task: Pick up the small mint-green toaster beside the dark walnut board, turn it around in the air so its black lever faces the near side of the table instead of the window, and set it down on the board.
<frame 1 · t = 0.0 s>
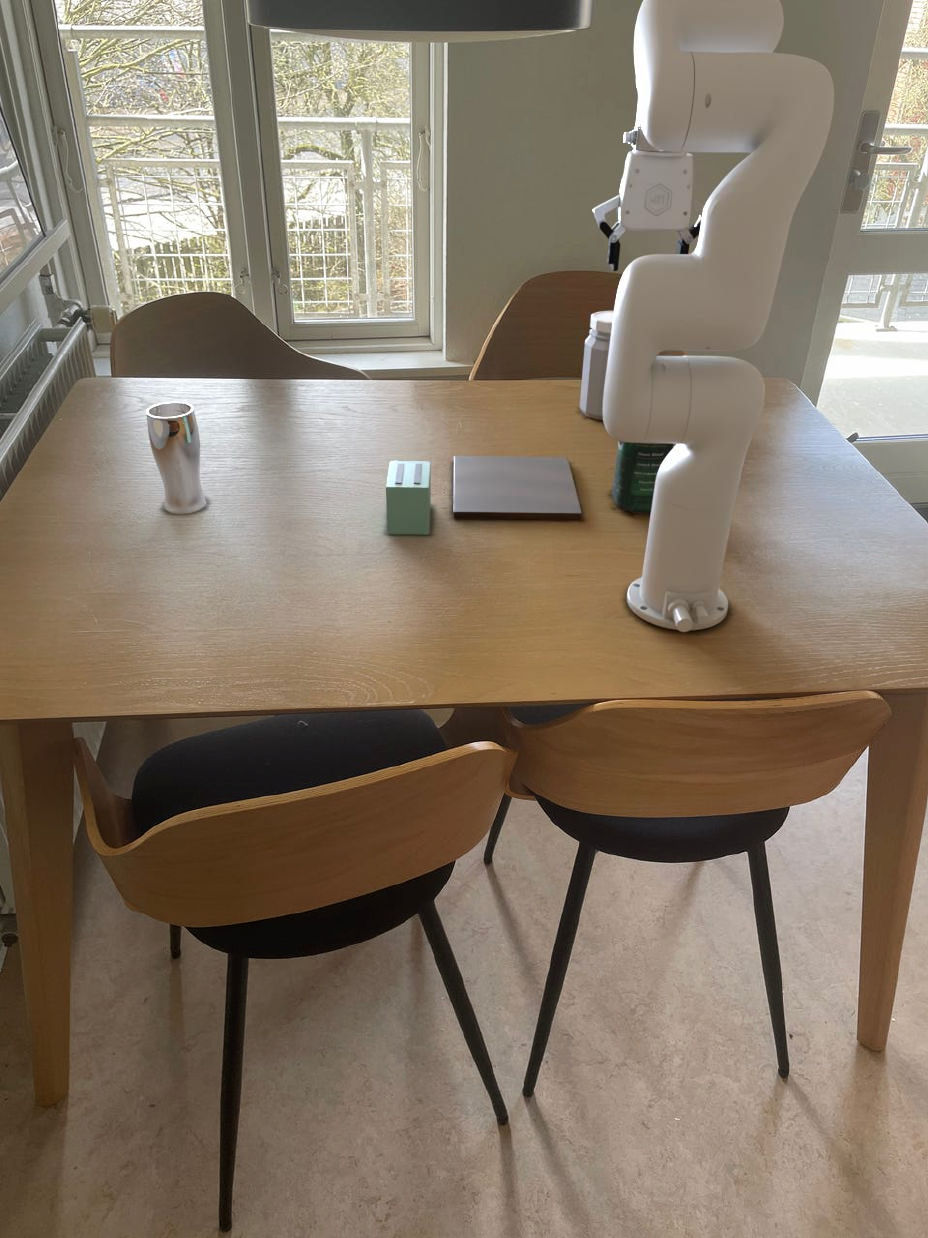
hand: (645, 269, 139), 31 cm above the table, tool pointing down, fingers open, 9 cm apart
board: (513, 489, 146), on the table
toaster: (410, 509, 140), on the table
beer glass: (185, 506, 140), on the table
jar: (604, 413, 176), on the table
coffee jar: (637, 503, 143), on the table
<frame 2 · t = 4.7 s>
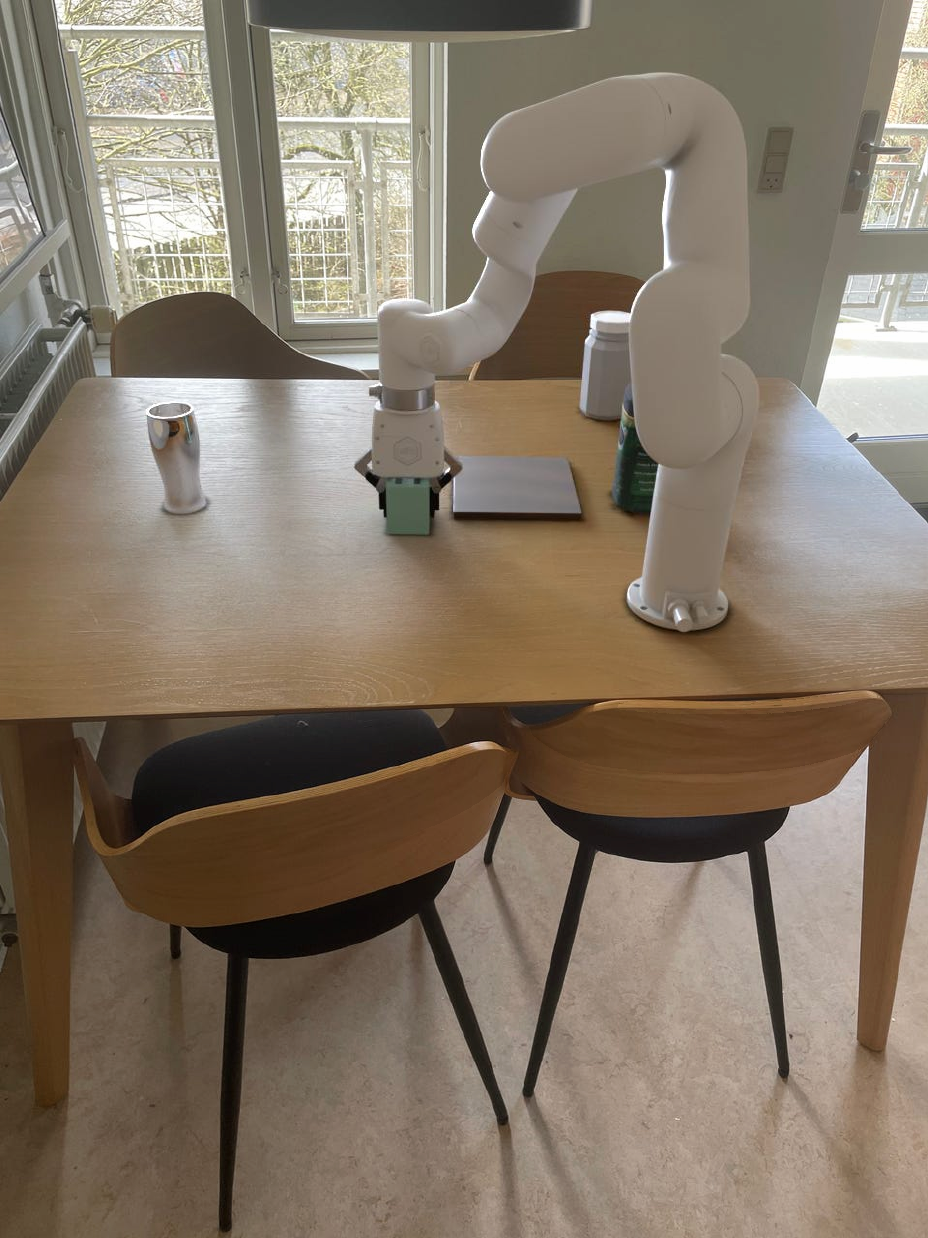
hand: (409, 512, 136), 1 cm above the table, tool pointing down, fingers closed on toaster, 6 cm apart
toaster: (410, 509, 140), on the table, touching gripper
everything else where it was.
when the fingers open (2 cm above the table, at t = 14.1 s): toaster stays where it is, resting on board.
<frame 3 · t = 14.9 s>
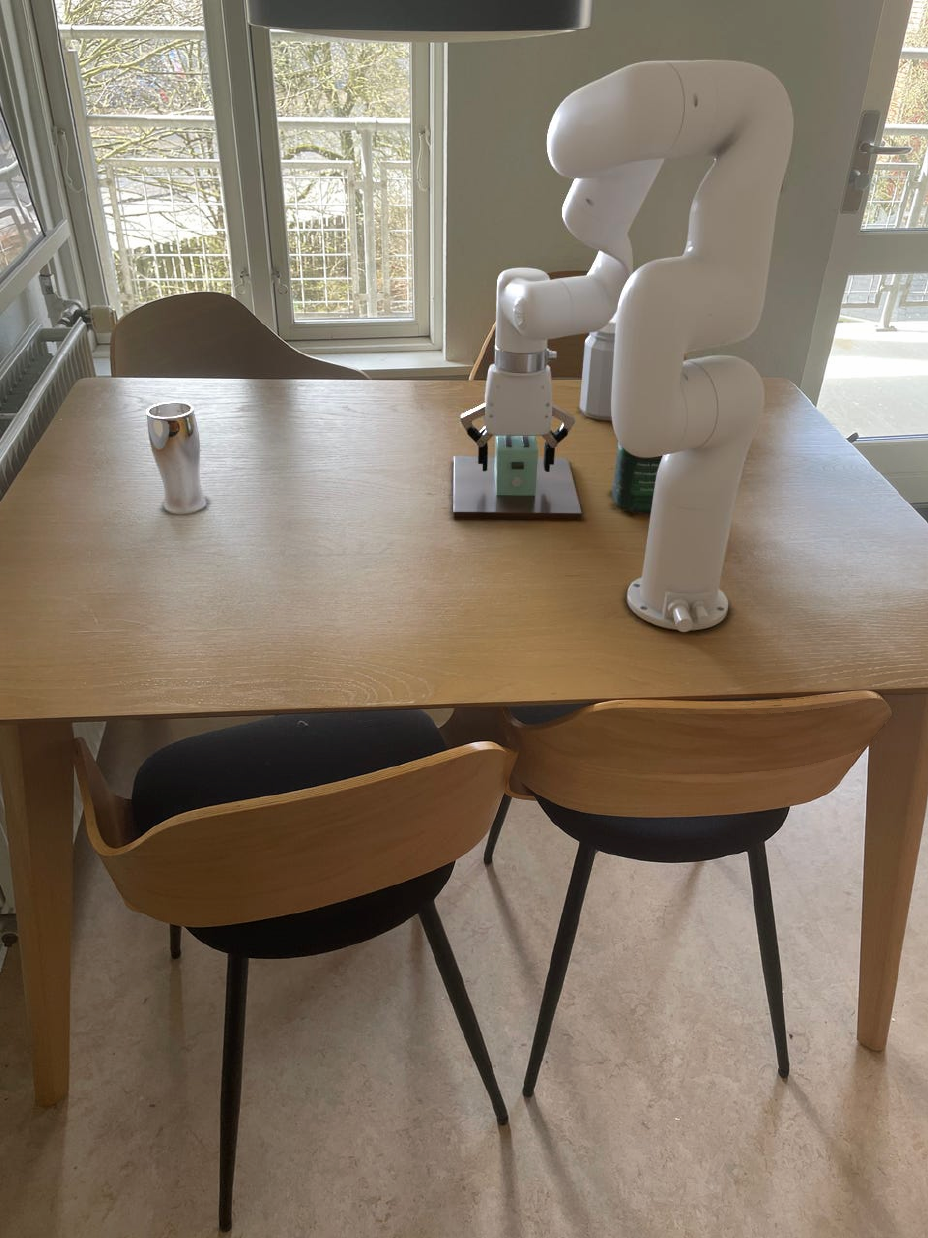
hand: (515, 468, 144), 4 cm above the table, tool pointing down, fingers open, 9 cm apart
toaster: (515, 492, 143), point 1 cm above the table, touching board
everything else where it was.
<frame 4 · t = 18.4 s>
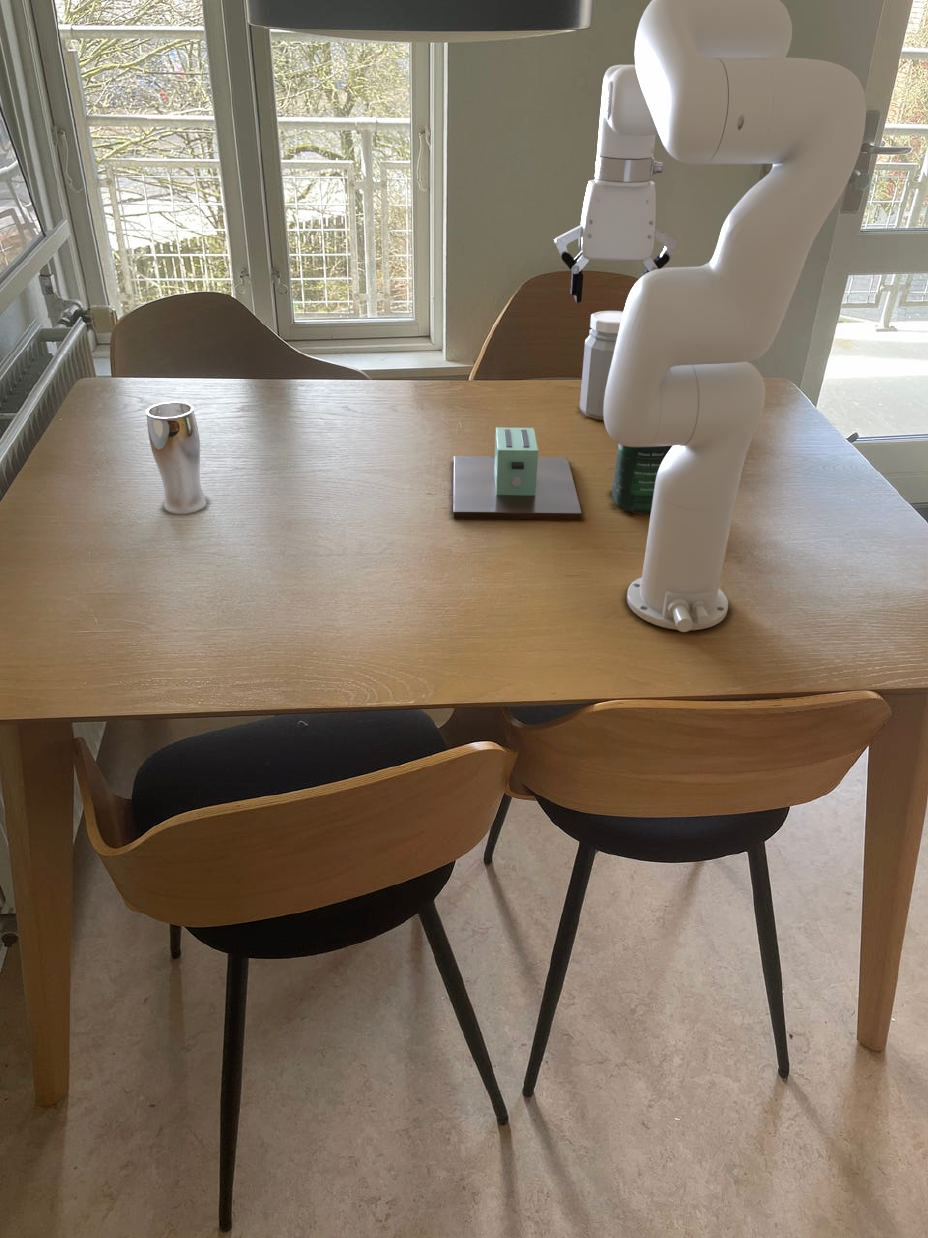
hand: (610, 300, 134), 28 cm above the table, tool pointing down, fingers open, 9 cm apart
nothing on the table moved.
at the end: toaster 0.1 cm from the target spot, point 1.2 cm above the table; toaster tilted 0°; the gripper is holding nothing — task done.
